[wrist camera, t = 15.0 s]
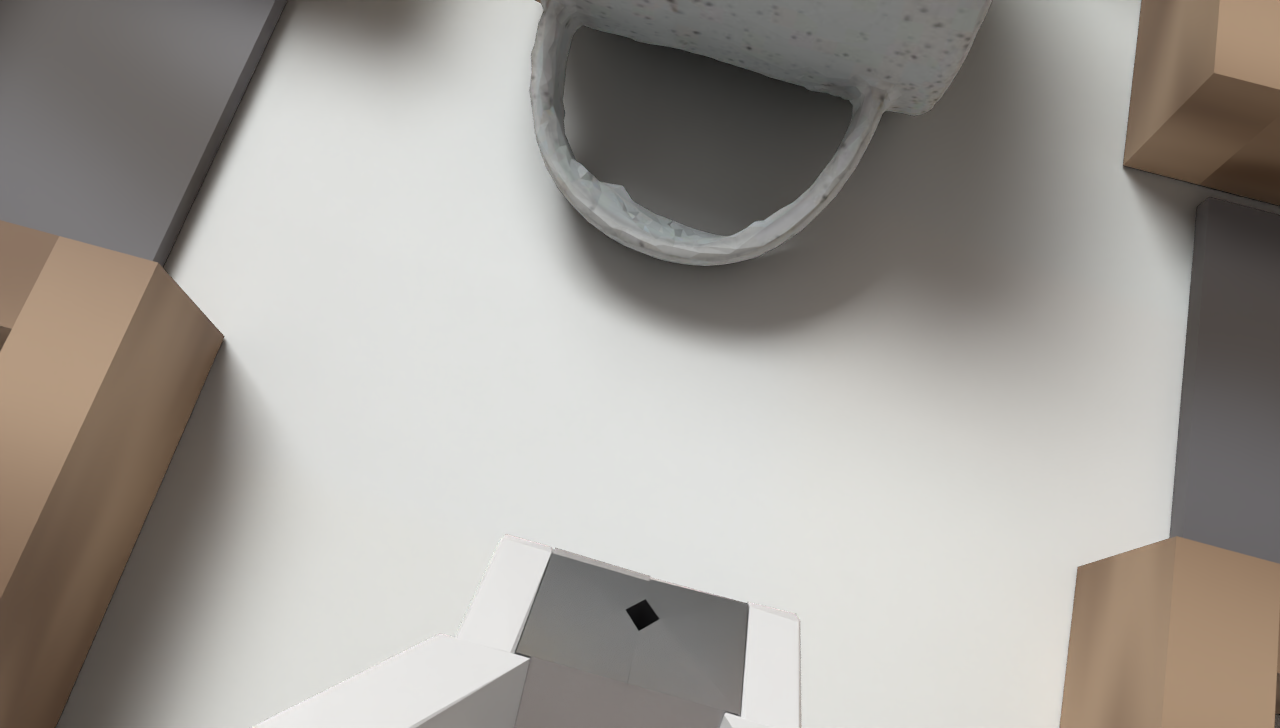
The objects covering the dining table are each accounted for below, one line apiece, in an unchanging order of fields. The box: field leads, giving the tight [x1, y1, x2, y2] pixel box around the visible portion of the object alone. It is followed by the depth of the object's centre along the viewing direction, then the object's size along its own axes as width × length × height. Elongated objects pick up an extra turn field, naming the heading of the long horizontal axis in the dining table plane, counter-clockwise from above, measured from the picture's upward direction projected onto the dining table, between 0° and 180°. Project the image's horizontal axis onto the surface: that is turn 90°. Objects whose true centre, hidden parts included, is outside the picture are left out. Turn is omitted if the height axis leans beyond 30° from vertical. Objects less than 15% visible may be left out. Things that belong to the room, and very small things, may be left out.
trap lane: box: [0, 0, 1280, 728], centre depth 17 cm, size 28×33×3 cm
